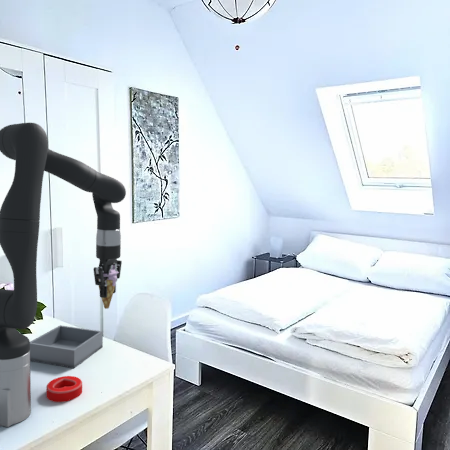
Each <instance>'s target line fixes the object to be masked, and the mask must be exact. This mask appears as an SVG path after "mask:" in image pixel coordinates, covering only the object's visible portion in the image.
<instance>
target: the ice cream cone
mask: <svg viewBox="0 0 450 450" xmlns="http://www.w3.org/2000/svg"><path fill="white" fill-rule="evenodd" d="M117 273H119V272H118V271H117V272H116V271H115V269H114V268H112V270H111V273H110V274H109V275H107V274H103V276H104V277H108V276H110V277H109V279H108V280H107V282H108V283H107V297H106V298H101V300H102V304H103V307H104V309H105V310H106V309H107V310H108V309H109V308H110V305H111V301H112V298H113V295H114V293H113V292H114V288H115V285H116V286H117V284H116V283H117V282H116V279H117V275H116V274H117ZM117 280H118V279H117ZM98 281H99V279H98ZM104 282H105V278H104ZM98 289H99V291H100V286H99V285H98Z"/></svg>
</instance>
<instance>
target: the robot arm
mask: <svg viewBox="0 0 450 450" xmlns="http://www.w3.org/2000/svg"><path fill="white" fill-rule="evenodd" d="M48 138H49V137H48V135H47V132H46V130H45V129H44V128H43V127H42V126H41V125H40V124H38V123H36V122H22V123H21V122H20V123H13V124H9V125H6V126H4V127H3V128H0V152H1V154H2V155H3V156H5V157H6V158H8V159H11V160H13V161H15V164H14V165H15V167H14V176H13V179H12V184H11V185H10V187H9V189H8V191H7V193H6V195H5V197H4V200H3V201H2V204H1V205H0V206H1V207H0V247H1V250H2V251H3V254H4V256H5V257H6V259H7V261H8V263H9V265H10V267H11V271H12V275H13V289H6V288H5V289H3V288H0V427H6V428H9V427H11V426H13V425H16V424H18V423H21V422H23V421H25V420H26V419H27V418H29V417H30V415H31V413H32V412H31V411H32V396H31V395H32V392H31V389H32V388H31V387H32V386H31V381H32V380H31V361H30V341H31V340H30V338H29V337H27V335H24V334H22V333H21V332H20V331H19V330H25V329H28V328H29V327H30V326H31V325H32V324H33V322H34V320H35V318H36V315H37V309H38V284H37V283H38V282H37V278H38V277H37V264H38V263H37V260H38V259H37V258H38V243H39V235H40V223H41V222H40V219H41V202H42V201H41V200H42V190H43V181H44V180H43V179H44V173H45V172H46V173H49V174H51V175H53V176H55V177H57V178H59V179H61V180H63V181H65V182H67V183H69V184H71V185H72V186H74V187H76V188H78V189H80V190H82V191H84V192H87V193H92V202H93V205H94V209H95V213H96V217H97V218H96V219H97V220H96V235H95V236H96V238H95V240H96V241H95V245H96V246H95V258H97V259H98V260H99V264H98V266H97V267H93V277H94V283H95V286H98V287H99V286H100V290H99V298H101V299H102V298H106V297H107V283H108V282H107V280H108V279H109V277H110V276H108V277H104V276H103V274H107V275H109V274H110V273H111V270H112V268H114V269H115V271H116V272H117V271H118V272H119V273H117V274H116V275H117V279H116V283H117V281H118V279H120V278H121V271H122V264H123V263H122V260H119V259H120V258H121V244H122V243H121V242H122V241H121V239H122V235H121V214H120V212H119V211H117V210H115V209H114V208H113V204H118V203H120V202H123V200H124V199H125V197H126V195H127V190H126V187H125V185H124V184H123V182H121V181H119V180H118V179H116V178H114V177H112V176H109V175H107V174H104V173H101V172H100V171H99V172H98V171H97V170H96V169H94V168H92V167H91V166H89V165H87V164H86V163H84V162H82V161H80V160H79V159H76V158H73V157H70V156H68V155H64V154H61V153H59V152H56V151H54V150H52V149H50V148H49V139H48ZM117 259H118V260H117ZM104 278H105V282H104ZM98 279H99V281H98ZM116 291H117V284H116V285H115V288H114V292H113V294H115V293H116Z"/></svg>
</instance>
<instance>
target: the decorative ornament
mask: <svg viewBox="0 0 450 450" xmlns="http://www.w3.org/2000/svg"><path fill="white" fill-rule="evenodd" d="M45 388H46V392H45V393H46V399H48V401H50V402H54V403H65V402H71V401H73V400H75V399H77V398H79V397H80V396H81V395H82V393H83V380H82V379H81V378H80V377H77V376H71V375H64V376H59V377H57V378H56V377H55V378H54V379H52V380H50V381H49V382H48V383H47V384H46V387H45Z"/></svg>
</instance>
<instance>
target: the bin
mask: <svg viewBox="0 0 450 450" xmlns="http://www.w3.org/2000/svg"><path fill="white" fill-rule="evenodd" d="M103 332H104V331H103V330H96V329H90V328H89V329H88V328H83V327H82V328H80V327H73V326H67V325H61V324H60V325H58V326H56V327H54V328H53V329H51V330H48V331H47V332H46V333H43V334H42V335H39V336H37V337H36V338H34V339H33V340H29V341H30V362H34V363H35V362H36V363H41V364H47V365H54V366H59V367H63V368H64V367H66V368H71V369H75V368H76V367H79V366H80V365H81V364H82V363H84V362H85V361H86V360H87V359H89V358H90V357H92V356H93V355H94V354H96V353H97V352H98V351H100V350H101V349H102V348H103V345H104V344H103V343H104V341H103V334H104V333H103Z"/></svg>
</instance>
